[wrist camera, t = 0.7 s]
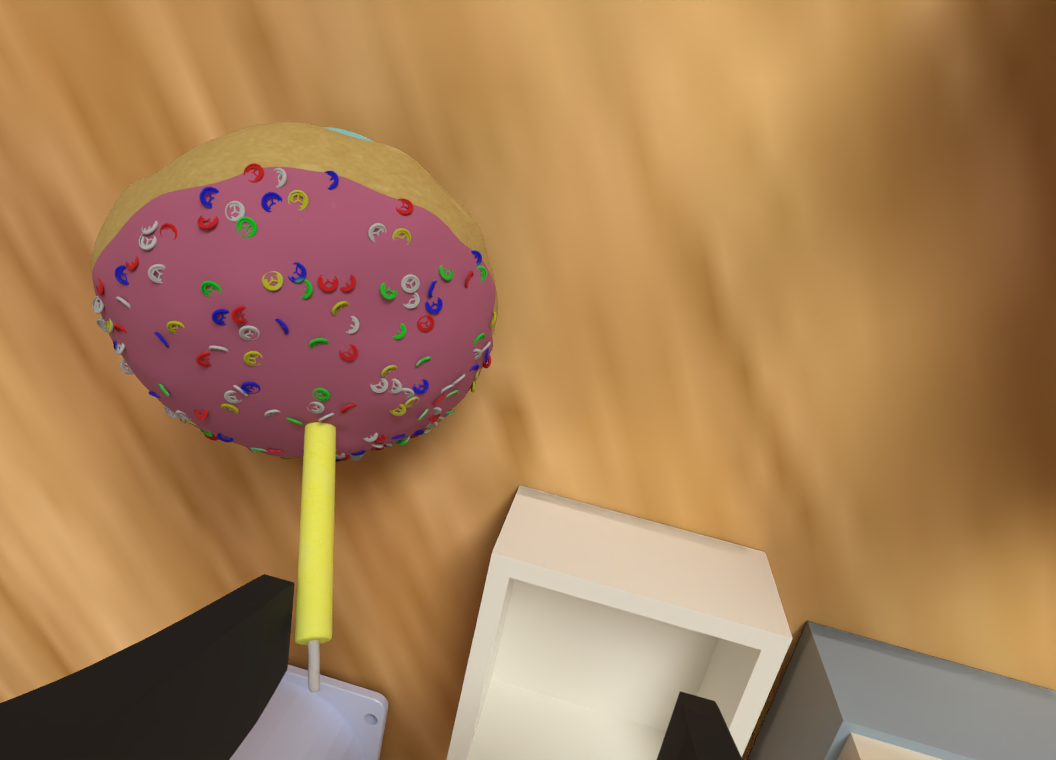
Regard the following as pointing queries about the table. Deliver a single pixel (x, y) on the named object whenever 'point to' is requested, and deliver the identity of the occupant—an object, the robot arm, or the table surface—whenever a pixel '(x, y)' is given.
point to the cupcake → (298, 308)
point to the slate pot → (900, 704)
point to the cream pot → (612, 635)
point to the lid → (877, 750)
